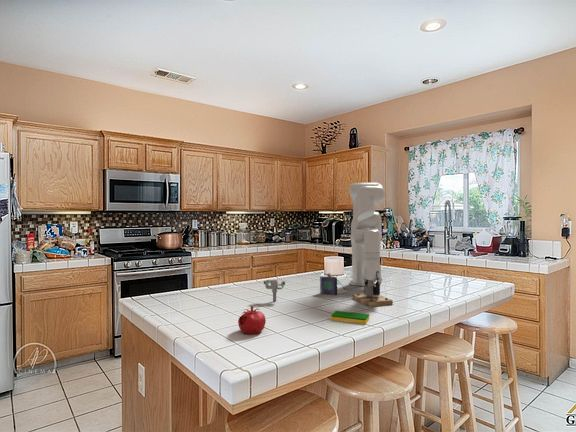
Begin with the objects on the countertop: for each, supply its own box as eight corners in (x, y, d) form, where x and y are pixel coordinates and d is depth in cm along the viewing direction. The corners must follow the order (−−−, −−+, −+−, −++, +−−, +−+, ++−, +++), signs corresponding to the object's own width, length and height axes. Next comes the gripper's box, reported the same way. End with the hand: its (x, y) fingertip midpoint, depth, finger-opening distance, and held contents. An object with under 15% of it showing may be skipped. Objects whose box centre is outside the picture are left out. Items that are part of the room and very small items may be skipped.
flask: (319, 293, 187) (319, 273, 187) (321, 292, 190) (321, 272, 190) (336, 295, 183) (336, 274, 183) (338, 294, 186) (338, 273, 186)
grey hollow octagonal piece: (361, 293, 173) (361, 284, 173) (374, 292, 175) (374, 283, 175) (369, 297, 166) (369, 287, 166) (382, 295, 168) (382, 286, 168)
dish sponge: (335, 316, 149) (335, 310, 149) (369, 320, 143) (369, 314, 143) (330, 321, 142) (330, 315, 142) (365, 325, 137) (365, 318, 137)
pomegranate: (265, 327, 135) (266, 302, 135) (265, 336, 125) (265, 309, 125) (239, 327, 134) (239, 302, 134) (236, 335, 124) (236, 309, 124)
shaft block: (352, 298, 176) (352, 276, 176) (374, 296, 180) (374, 274, 180) (369, 306, 161) (369, 282, 161) (392, 304, 165) (392, 280, 165)
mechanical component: (284, 302, 169) (284, 281, 169) (263, 301, 171) (263, 281, 171) (285, 301, 172) (285, 280, 172) (265, 300, 174) (264, 279, 174)
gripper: (355, 254, 178) (356, 289, 178) (374, 258, 161) (374, 297, 161) (369, 253, 180) (369, 288, 180) (389, 257, 163) (389, 296, 164)
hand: (371, 292), depth 171 cm, fingers closed on grey hollow octagonal piece, 7 cm apart
